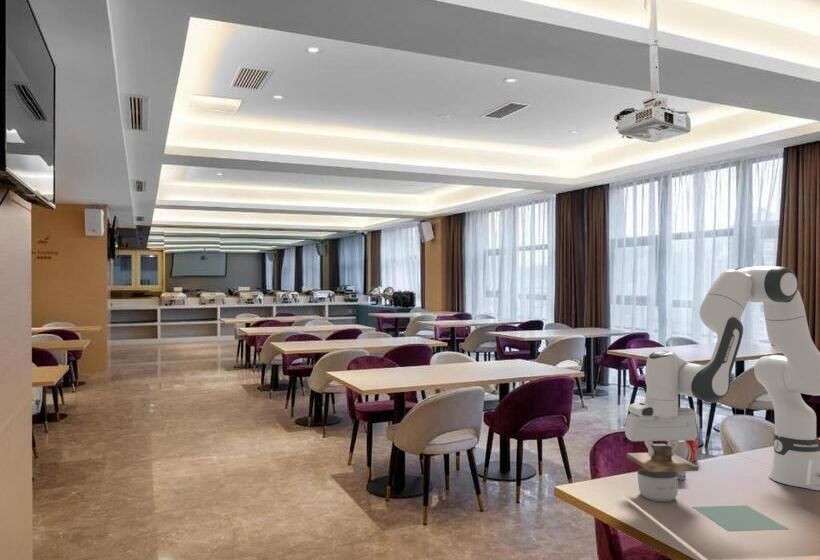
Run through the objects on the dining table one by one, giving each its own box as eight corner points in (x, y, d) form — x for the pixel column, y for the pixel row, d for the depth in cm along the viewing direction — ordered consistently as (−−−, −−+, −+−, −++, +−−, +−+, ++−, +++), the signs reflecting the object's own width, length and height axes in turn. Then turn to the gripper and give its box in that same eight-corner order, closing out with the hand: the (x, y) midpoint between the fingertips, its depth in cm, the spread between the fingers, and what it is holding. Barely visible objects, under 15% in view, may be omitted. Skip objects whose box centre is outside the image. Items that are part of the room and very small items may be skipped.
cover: (671, 456, 180) (671, 439, 180) (698, 470, 166) (698, 452, 166) (626, 457, 178) (626, 439, 178) (650, 471, 165) (650, 452, 165)
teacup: (659, 509, 164) (660, 479, 164) (628, 496, 174) (629, 468, 174) (693, 500, 171) (693, 472, 171) (661, 489, 180) (662, 462, 180)
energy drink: (682, 474, 194) (682, 437, 194) (688, 480, 189) (688, 442, 189) (665, 474, 194) (665, 437, 195) (670, 479, 189) (671, 441, 189)
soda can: (671, 457, 214) (672, 423, 214) (690, 456, 215) (690, 423, 215) (682, 463, 207) (682, 428, 207) (702, 462, 208) (702, 428, 208)
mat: (746, 508, 165) (746, 505, 165) (788, 532, 149) (788, 529, 149) (691, 509, 164) (691, 506, 164) (728, 534, 148) (728, 531, 148)
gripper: (689, 405, 176) (689, 452, 176) (623, 405, 174) (622, 453, 174) (701, 409, 170) (701, 458, 170) (633, 410, 168) (632, 459, 168)
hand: (661, 455), depth 172 cm, fingers closed on cover, 4 cm apart
